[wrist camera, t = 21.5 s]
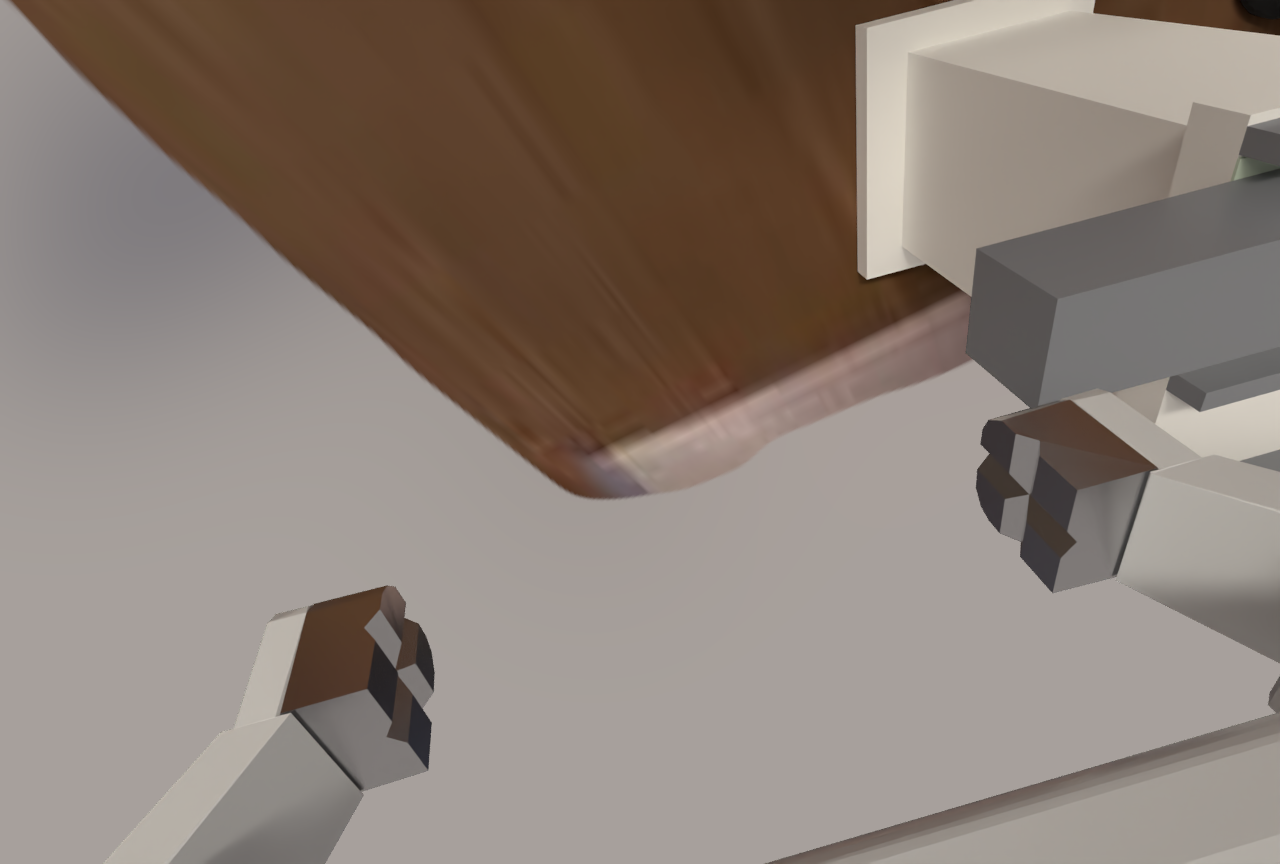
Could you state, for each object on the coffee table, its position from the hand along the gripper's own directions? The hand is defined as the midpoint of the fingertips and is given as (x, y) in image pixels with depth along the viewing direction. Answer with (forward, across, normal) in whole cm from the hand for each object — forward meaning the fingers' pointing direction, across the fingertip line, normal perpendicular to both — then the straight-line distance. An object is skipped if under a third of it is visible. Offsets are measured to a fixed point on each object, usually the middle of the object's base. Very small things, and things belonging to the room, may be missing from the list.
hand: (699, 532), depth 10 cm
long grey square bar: (+11, +21, -5) cm, 24 cm away
